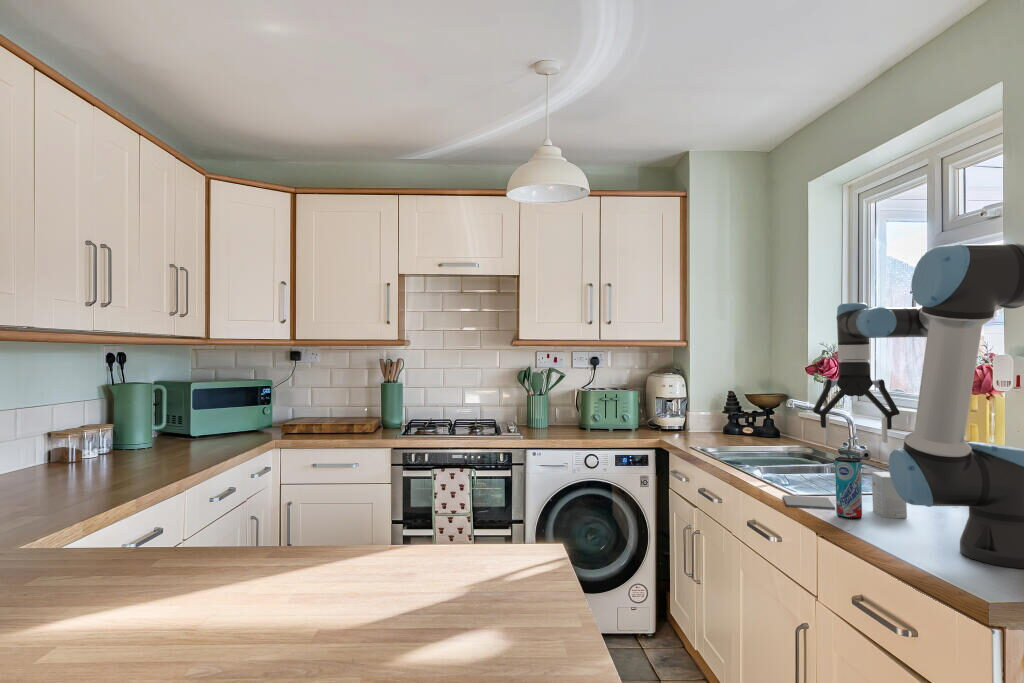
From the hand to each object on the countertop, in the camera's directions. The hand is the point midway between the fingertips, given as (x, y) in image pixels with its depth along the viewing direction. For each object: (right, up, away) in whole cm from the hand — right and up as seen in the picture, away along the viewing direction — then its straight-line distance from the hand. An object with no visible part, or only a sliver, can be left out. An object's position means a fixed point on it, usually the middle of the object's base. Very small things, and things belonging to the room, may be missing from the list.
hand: (855, 441), depth 170 cm
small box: (+8, -19, -2) cm, 21 cm away
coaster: (-8, -19, +11) cm, 23 cm away
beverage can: (-4, -19, -5) cm, 20 cm away
